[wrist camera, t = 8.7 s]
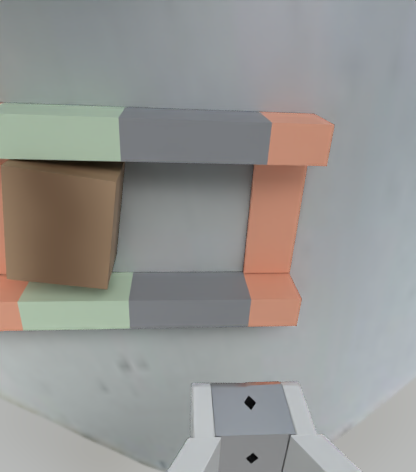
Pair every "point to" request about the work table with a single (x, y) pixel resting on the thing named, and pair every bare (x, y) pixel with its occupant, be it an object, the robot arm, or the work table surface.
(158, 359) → the work table surface
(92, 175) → the walnut block
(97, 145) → the multicolored rectangular frame
